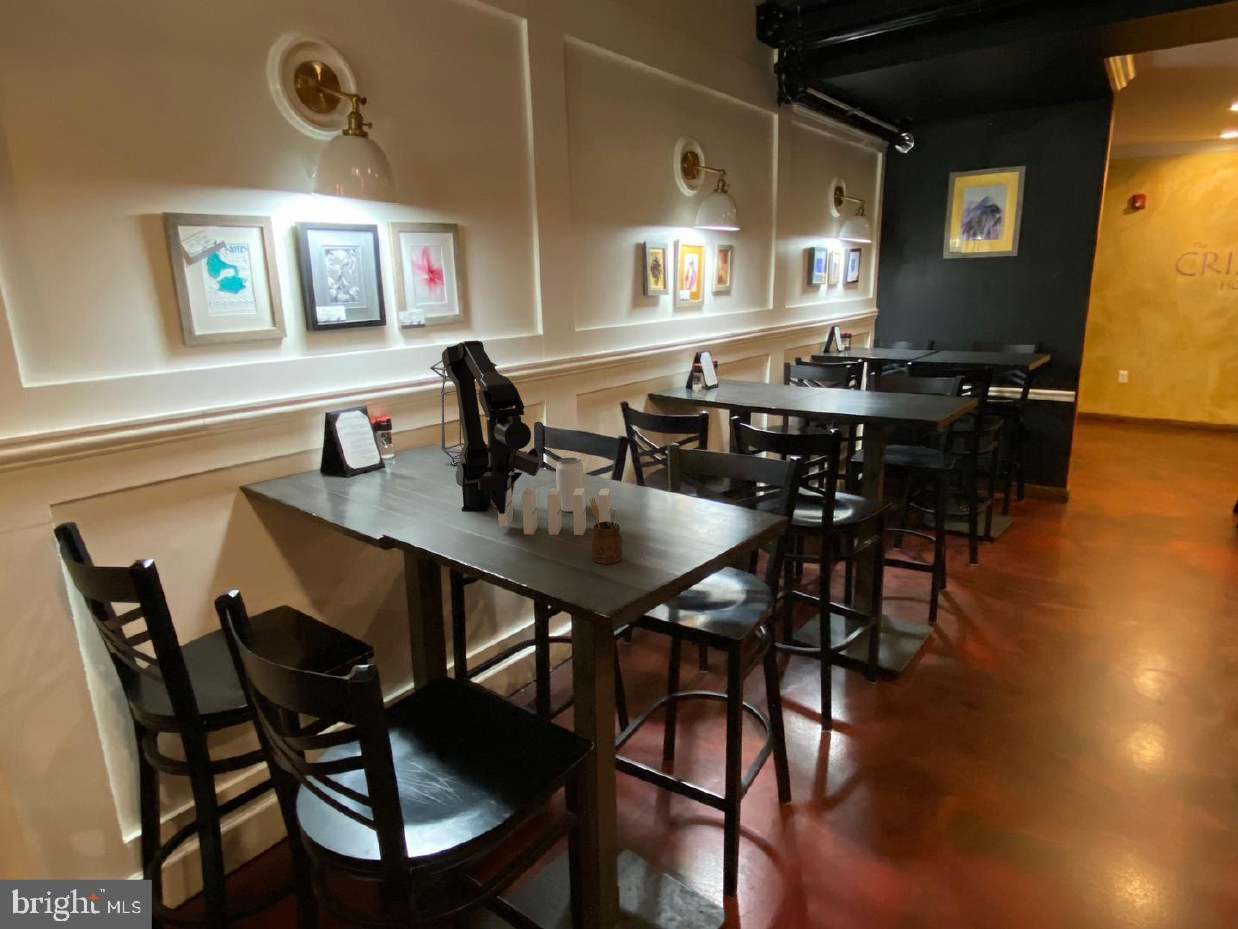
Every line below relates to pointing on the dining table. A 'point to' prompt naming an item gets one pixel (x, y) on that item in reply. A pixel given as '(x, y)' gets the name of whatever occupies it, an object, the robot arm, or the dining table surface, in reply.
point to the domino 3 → (554, 511)
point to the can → (569, 480)
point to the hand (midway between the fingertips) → (505, 509)
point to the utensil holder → (606, 539)
